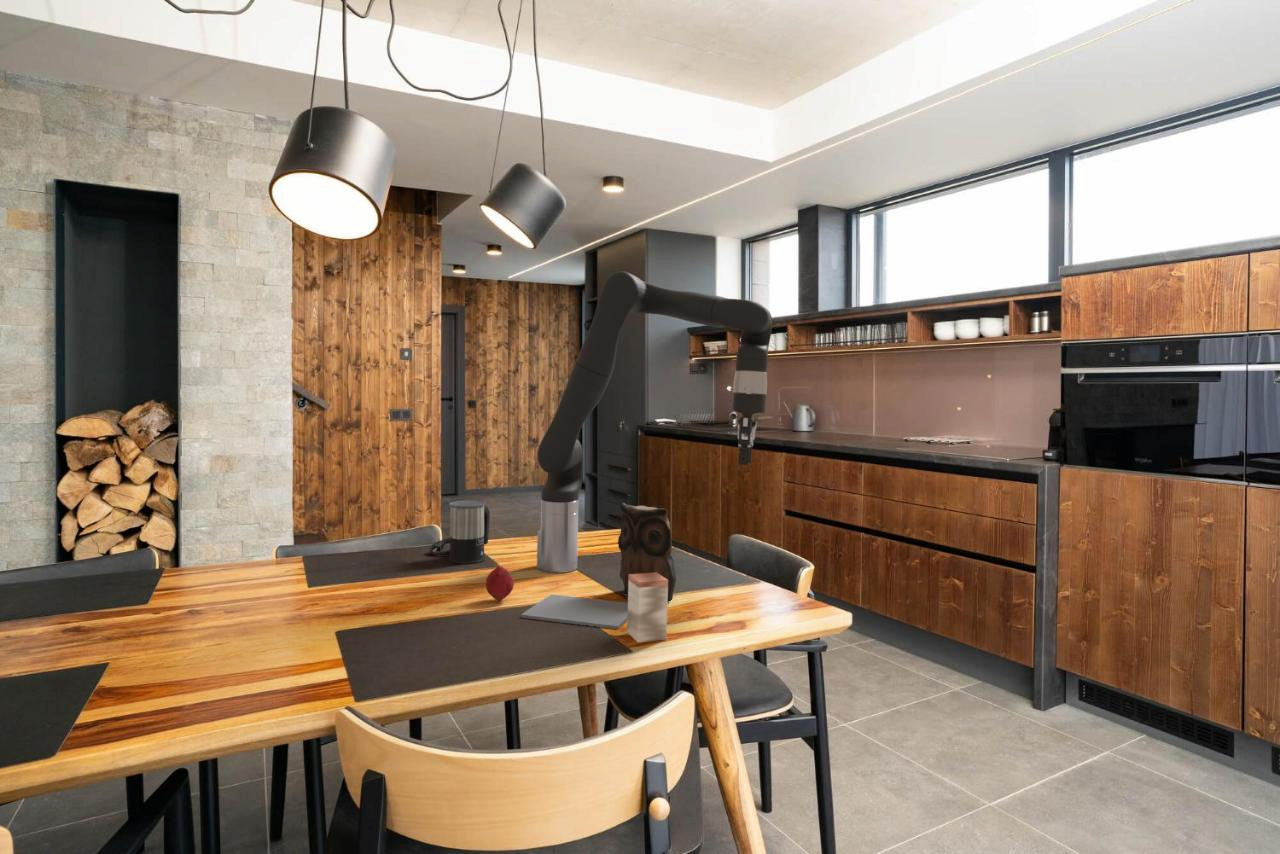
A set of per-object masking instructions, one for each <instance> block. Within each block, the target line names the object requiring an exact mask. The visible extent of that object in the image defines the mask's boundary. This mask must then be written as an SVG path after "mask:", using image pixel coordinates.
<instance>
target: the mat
mask: <svg viewBox="0 0 1280 854" xmlns="http://www.w3.org/2000/svg"><path fill="white" fill-rule="evenodd" d="M520 618H522V619H530V620H537V621H548V622H554V623H555V622H556V623H561V624H562V623H563V624H564V623H565V624H570V625H572V624H573V625H578V624H579V625H578V626H586V625H588V626H587V627H594V626H596V628H604V629H605V628H606V629H613V630H619V629H620V628H621V627H623V625H624V624H625V623H626V622H627V618H628V602H623V601H614V600H607V599H606V600H605V599H598V598H597V599H595V598H588V597H587V598H586V597H578V596H570V595H569V596H568V595H559V594H549V595H548V596H546V597H545V598H544V599H542V600H540V601H539V602H537V603H536V604H535V605H533V606H531V607H530V608H528V609H527V610H526V611H524V612H523V613H521V615H520Z"/></svg>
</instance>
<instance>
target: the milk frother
mask: <svg viewBox="0 0 1280 854" xmlns="http://www.w3.org/2000/svg"><path fill="white" fill-rule="evenodd" d="M448 505H449V506H450V507H449V508H450V513H449V514H450V515H449V516H450V517H449V518H450V520H449V524H450V525H449V528H450V530H449V532H450V533H449V534H450V535H449V538H445V539H441V540H437V541H436V542H434V543H433V544H431V545H430V547H429V552H430V554H432V555H435V556H441V557H442V556H449V557H448V561H449V562H451V563H454V564H475V563H480V562H483V561H485V560H486V557H485V556H486V555H485V545H487V544H489V534H490V532H489V531H490V514H491V513H490V509H489V508H488V506H486V502H485V501H483V500H482V501H481V500H470V499H469V500H456V501H455V500H454V501H452V502H449V503H448ZM447 544H449V549H448V550H443V549H444V547H445V546H446V545H447Z"/></svg>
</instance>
